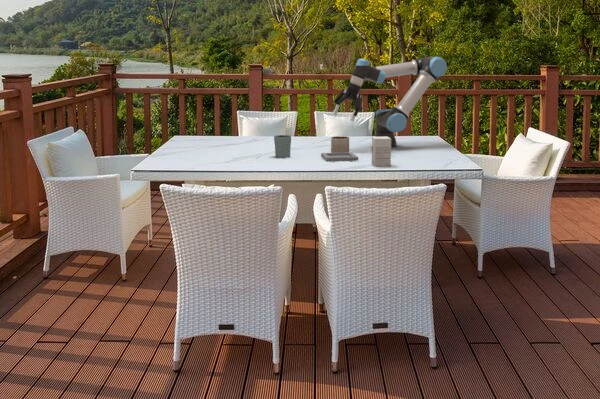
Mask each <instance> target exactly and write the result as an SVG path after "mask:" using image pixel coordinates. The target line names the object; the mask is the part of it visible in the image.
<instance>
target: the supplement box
mask: <svg viewBox="0 0 600 399" xmlns="http://www.w3.org/2000/svg"><path fill="white" fill-rule="evenodd" d="M391 154H392V147H391V138H389V137H388V136H385V137H375V136H371V165H372V166H373V167H391V163H392V160H391V158H392V155H391Z"/></svg>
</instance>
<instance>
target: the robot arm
mask: <svg viewBox="0 0 600 399" xmlns="http://www.w3.org/2000/svg"><path fill="white" fill-rule="evenodd" d="M370 64H371V62H370V61H369V60H367V59H364V58H358V59H357V61H356V64H355V66H354V69H353V72H352V75H351V77H350V81H349V83H348V85H347V89H342V90H341V92H340V93H339V94H338V95H337V96H336V97H335V99H334V100H333V103H334V104H335V105H334V108H333V109H334V110H333V113H332V115H334V116H337V114H338V112H339V109H340V105H341V104H342V103H343V102H345V101H346V100H351V101H352V102H353V106H354V109H353V111H352V114H351V117H350V121H351V122H353V123H354V122H355V118H356V117H357V116H358V113H359V112H362V111H363V101H362V99H363V95H362V94H360V91H361V88H362V86H363V83H364V81H369V82H370V81H371V82H374V83H378V84H383V83H384V81H385V79H387V78H392V77H401V76H406V75H408V76H409V75H413V76H418V77H417V78H416V80H415V81H414V83H413V84H412V85H411V86H410V88H409V89H408V91H407V92H406V94H405V95H404V96H403V98H402V99H401V100H400V102H399V103H398V105H395V106H393V107H392V108H388V109H387V108H386V109H377V110H376V112H375V133H374V134H375V135H374V137H385V136H388V137H389V138H391V148H394V147H397V139H396V136H395V133H400V132H402V131H403V130H405V128H406V127H407V121H408V120H409V118H410V112H412V111H413V109H414V107H415V106H416V105H417V103H418V102H419V100H420V99H421V97H422V96H423V95H424V94H425V92H426V91H427V90H428V89H429V87H430V85H431V84H432V83H435V82H437V80H438V79H439V77H440V78H441V77H443V76H444V75H445V74H446V72H447V69H448V66H447V64H448V63H447V62H446V60H445V59H444V58H442V57H439V56H424V57H420V58H416V59H412V60H410V61H407V62H399V63H393V64H386V65H379V66H378V65H377V66H371V65H370Z"/></svg>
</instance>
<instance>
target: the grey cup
mask: <svg viewBox="0 0 600 399" xmlns="http://www.w3.org/2000/svg"><path fill="white" fill-rule="evenodd" d="M273 140H274V149H275V150H274V155H275V158H278V157H279V159H282V158H284V159H286V158H287V157H288V158H290V157H291V145H292V135H289V134H288V135H287V134H286V135H285V134H279V135H274V136H273Z"/></svg>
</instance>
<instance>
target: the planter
mask: <svg viewBox="0 0 600 399" xmlns="http://www.w3.org/2000/svg"><path fill="white" fill-rule="evenodd" d="M346 152H350V137H349V136H341V135H339V136H331V137H330V153H346Z"/></svg>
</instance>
